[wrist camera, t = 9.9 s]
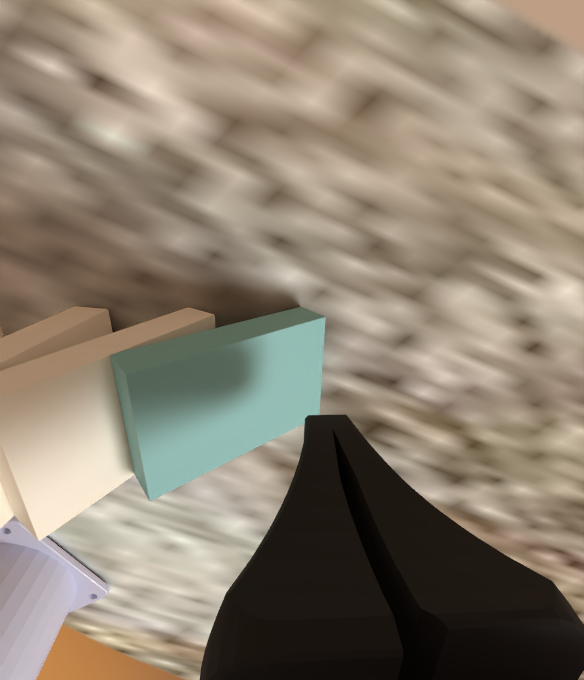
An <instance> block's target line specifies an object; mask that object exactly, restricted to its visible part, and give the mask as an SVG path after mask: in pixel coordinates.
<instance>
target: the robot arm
mask: <svg viewBox="0 0 584 680" xmlns="http://www.w3.org/2000/svg"><path fill="white" fill-rule="evenodd" d="M109 590H110V588H109V586H108V585H107V584H106V583H105V582H103V581H102V580H101V579H100V578H98V577H97V576H96V575H95V574H93V573H92V572H91V571H90V570H88V569H87V568H86V567H84V566H83V565H82V564H81V563H79V562H78V561H77V560H76V559H74V558H73V557H72V556H70V555H69V554H68V553H67V552H65V551H64V550H63V549H62V548H60V547H59V546H58V545H56V544H55V543H54V542H53V541H51V540H50V539H49V538H48V537H45V538H43V539H42V540H40V541H38V540H37V539H36V538H35V537H34V536H33V535H32V534H31V533H30V532H29V531H28V529H27V528H26V527H25V526H24V525H23V524H22V523H21V522H20V521H19V520H18V519H17V518H16V517H15V516H13V517H12V518H11V519H10V520H9V521H8V522H7V523H6V524H5V525H4V526H3V527H2V528H1V529H0V680H36V678H37V676H38V674H39V672H40V670H41V668H42V666H43V664H44V662H45V659H46V657H47V655H48V653H49V651H50V649H51V647H52V645H53V643H54V640H55V638H56V636H57V634H58V632H59V629H60V628H61V626H62V624H63V622H64V619H65V617H66V615H67V613H70V612H72V611H74V610H76V609H79V608H81V607H83V606H86V605H88V604H90V603H93V602H95V601H97V600H99V599H102V598H104V597H106V596H107V595H108V592H109ZM583 671H584V625H583V623H582V622H581V620H580V619H579V617H578V616H577V614H576V613H575V611H574V610H573V608H572V607H571V605H570V604H569V602H568V601H567V600H566V598H565V597H564V596H563V594H562V593H561V592H560V591H559V589H558V588H557V587H556V585H555V584H554V583H553V582H552V581H551V580H549V579H547V578H545V577H544V576H542V575H540V574H538V573H536V572H535V571H533V570H531V569H529V568H527V567H526V566H524V565H522V564H520V563H518V562H517V561H515V560H513V559H511V558H509V557H508V556H506V555H504V554H503V553H501V552H499V551H498V550H496V549H495V548H493V547H491V546H490V545H488V544H487V543H485V542H483V541H482V540H480V539H479V538H477V537H476V536H474V535H473V534H471V533H470V532H468V531H467V530H465V529H464V528H462V527H461V526H460V525H458V524H457V523H455V522H454V521H453V520H451V519H450V518H449V517H447V516H446V515H445V514H443V513H442V512H440V511H439V510H438V509H437V508H435V507H434V506H433V505H432V504H430V503H429V502H428V501H427V500H425V499H424V498H423V497H422V496H421V495H420V494H418V493H417V492H416V491H415V490H414V489H413V488H411V487H410V486H409V485H408V484H407V483H406V482H405V481H404V480H403V479H402V478H401V477H400V476H399V475H398V474H397V473H396V472H395V471H394V470H393V469H392V468H391V467H390V466H389V465H388V464H387V463H386V462H385V461H384V460H383V458H382V457H381V456H380V455H379V454H378V453H377V452H376V451H375V450H374V448H373V447H372V446H371V445H370V444H369V443H368V441H367V440H366V439H365V438H364V436H363V435H362V434H361V433H360V432H359V430H358V429H357V428H356V426H355V425H354V424H353V423H352V421H351V420H350V419H349V417H348V416H347V415H308V416H307V417H306V418H305V429H304V444H303V448H302V452H301V456H300V460H299V463H298V466H297V469H296V472H295V475H294V477H293V480H292V483H291V485H290V488H289V490H288V493H287V495H286V497H285V499H284V501H283V504H282V506H281V508H280V510H279V512H278V514H277V516H276V518H275V520H274V521H273V523H272V525H271V527H270V529H269V530H268V532H267V534H266V536H265V537H264V539H263V540H262V542H261V544H260V545H259V547H258V548H257V550H256V552H255V553H254V555H253V556H252V558H251V559H250V561H249V562H248V564H247V565H246V567H245V568H244V569H243V571H242V572H241V574H240V575H239V576H238V578H237V579H236V580H235V582H234V583H233V584H232V586H231V587H230V589H229V590H228V591H227V593H226V595H225V597H224V600H223V602H222V605H221V607H220V609H219V612H218V614H217V617H216V620H215V622H214V625H213V627H212V630H211V633H210V636H209V639H208V642H207V646H206V649H205V653H204V657H203V661H202V666H201V674H200V680H578V678H579V677H580V675H581V674H582V672H583Z"/></svg>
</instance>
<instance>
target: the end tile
mask: <svg viewBox="0 0 584 680" xmlns="http://www.w3.org/2000/svg"><path fill="white" fill-rule="evenodd" d="M325 318H326V317H325V316H322V315H320V314H317V313H315V312H312V311H310V310H307V309H305V308H302V307H298V308H294V309H290V310H286V311H282V312H278V313H274V314H270V315H266V316H262V317H258V318H254V319H250V320H246V321H242V322H238V323H234V324H230V325H226V326H222V327H218V328H214V329H210V330H206V331H202V332H198V333H194V334H190V335H186V336H182V337H178V338H174V339H170V340H166V341H162V342H158V343H154V344H150V345H146V346H142V347H138V348H134V349H130V350H126V351H122V352H118V353H114V354H110V358H111V362H112V367H113V372H114V377H115V382H116V387H117V392H118V396H119V401H120V406H121V411H122V416H123V421H124V426H125V430H126V435H127V440H128V445H129V450H130V455H131V460H132V464H133V469H134V474H135V476H136V478H137V479H138V481H139V483H140V485H141V487H142V488H143V490H144V492H145V494H146V495H147V497H148V499H149V501H152V500H154V499H156V498H158V497H160V496H162V495H163V494H165V493H167V492H169V491H171V490H173V489H175V488H177V487H179V486H181V485H183V484H185V483H187V482H189V481H191V480H193V479H195V478H197V477H199V476H201V475H203V474H205V473H207V472H209V471H211V470H213V469H215V468H217V467H219V466H221V465H223V464H225V463H227V462H229V461H231V460H233V459H235V458H237V457H239V456H241V455H243V454H245V453H247V452H248V451H250V450H252V449H254V448H256V447H258V446H260V445H262V444H264V443H266V442H268V441H270V440H272V439H274V438H276V437H278V436H280V435H282V434H284V433H286V432H288V431H290V430H292V429H294V428H296V427H298V426H300V425H302V424H304V423H305V418H306V417H307V416H308V415H319V410H320V394H321V379H322V364H323V349H324V333H325Z"/></svg>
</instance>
